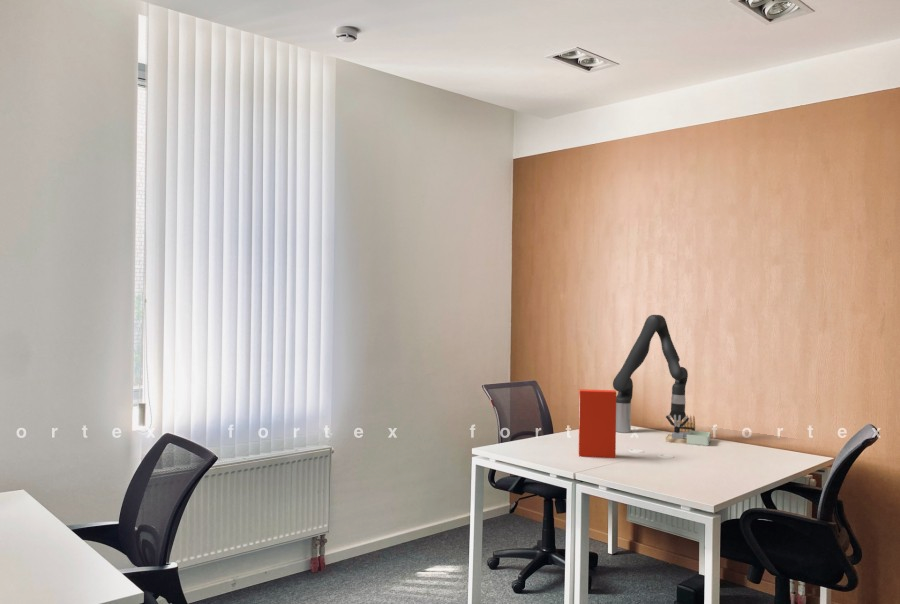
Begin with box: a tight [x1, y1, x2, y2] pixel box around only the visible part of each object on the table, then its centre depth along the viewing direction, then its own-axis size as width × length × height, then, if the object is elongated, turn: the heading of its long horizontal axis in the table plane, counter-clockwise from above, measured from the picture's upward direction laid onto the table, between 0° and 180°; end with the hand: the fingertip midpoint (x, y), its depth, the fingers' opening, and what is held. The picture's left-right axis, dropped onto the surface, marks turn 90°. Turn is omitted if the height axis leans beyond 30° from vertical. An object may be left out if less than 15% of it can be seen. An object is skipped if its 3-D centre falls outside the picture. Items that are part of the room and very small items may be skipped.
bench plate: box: [665, 433, 688, 445], centre depth 369 cm, size 11×14×2 cm
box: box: [686, 430, 711, 447], centre depth 364 cm, size 11×16×5 cm
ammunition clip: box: [677, 414, 696, 432], centre depth 386 cm, size 11×2×12 cm, turn 67°
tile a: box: [679, 430, 691, 438], centre depth 371 cm, size 6×5×2 cm
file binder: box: [578, 388, 617, 459], centre depth 326 cm, size 8×17×32 cm, turn 81°
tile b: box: [671, 432, 684, 439], centre depth 366 cm, size 6×5×2 cm
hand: (677, 433), depth 372 cm, fingers closed
